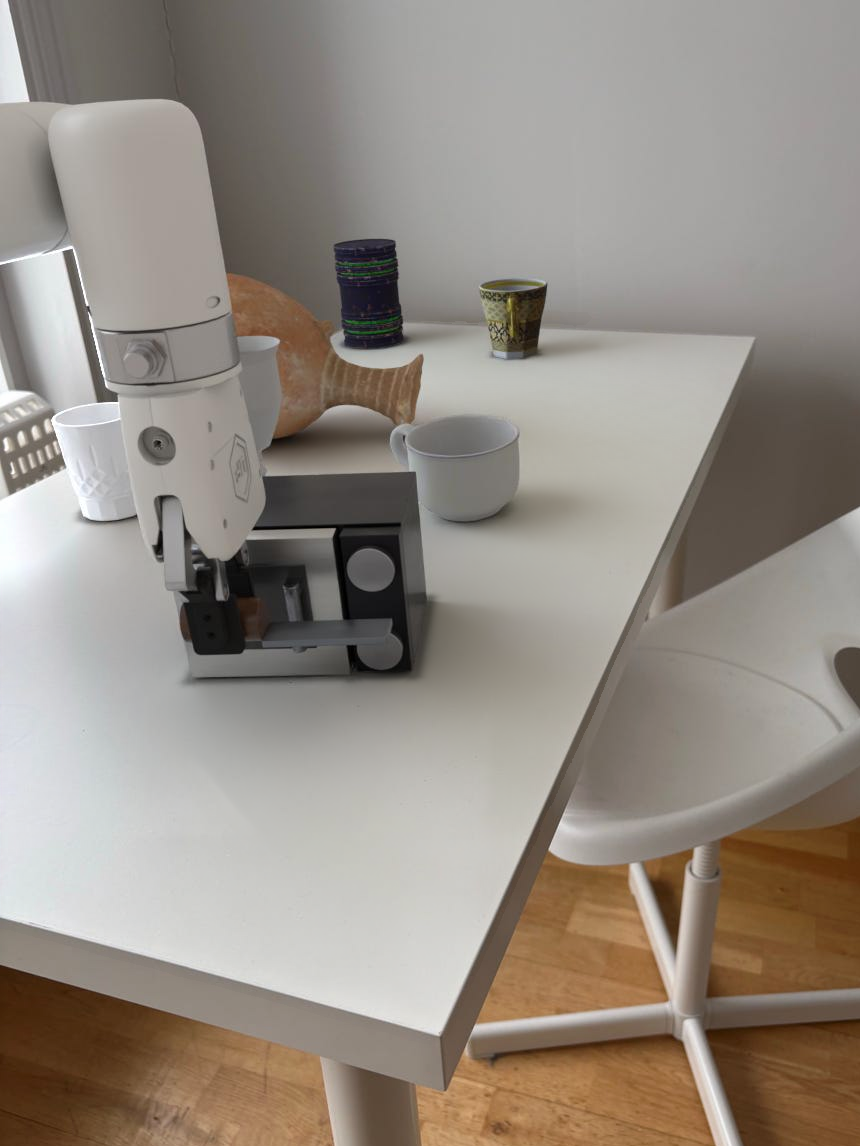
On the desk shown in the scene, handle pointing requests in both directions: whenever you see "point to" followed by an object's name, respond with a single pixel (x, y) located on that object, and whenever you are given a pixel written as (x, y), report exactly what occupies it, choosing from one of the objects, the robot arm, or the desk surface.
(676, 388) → the desk surface
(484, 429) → the teacup
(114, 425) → the white cup
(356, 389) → the jug
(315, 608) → the microwave door
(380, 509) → the microwave
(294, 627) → the knife
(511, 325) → the ceramic cup
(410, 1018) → the desk surface
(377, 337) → the storage jar
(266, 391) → the chalice
